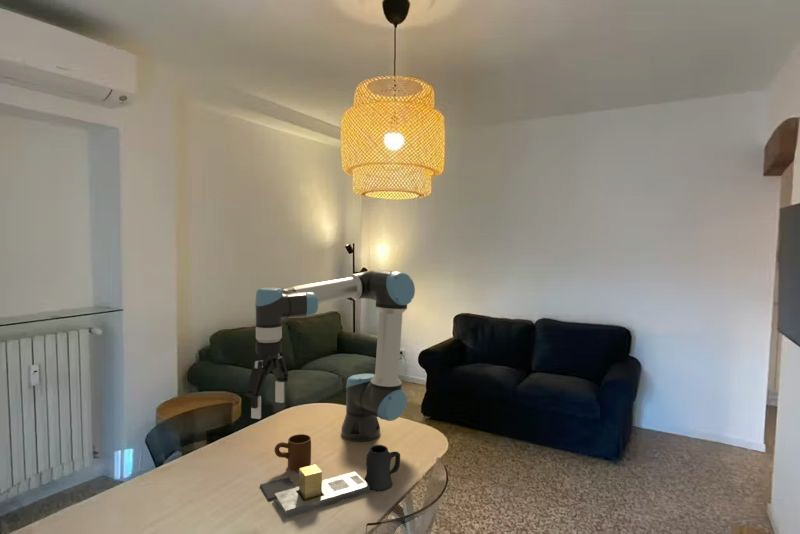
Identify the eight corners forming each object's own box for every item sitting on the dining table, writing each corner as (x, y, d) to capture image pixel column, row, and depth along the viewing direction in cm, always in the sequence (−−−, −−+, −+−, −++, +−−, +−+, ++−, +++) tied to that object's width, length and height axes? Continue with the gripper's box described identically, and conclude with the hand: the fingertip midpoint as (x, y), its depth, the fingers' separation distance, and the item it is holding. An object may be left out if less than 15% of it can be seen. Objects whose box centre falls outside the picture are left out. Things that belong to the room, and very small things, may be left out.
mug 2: (371, 494, 139) (372, 458, 139) (358, 480, 147) (359, 446, 147) (405, 484, 146) (406, 449, 145) (391, 471, 153) (392, 438, 153)
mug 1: (276, 476, 149) (276, 447, 148) (272, 465, 156) (272, 438, 155) (313, 469, 154) (313, 441, 153) (307, 459, 161) (307, 432, 160)
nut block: (315, 493, 139) (315, 464, 139) (321, 501, 135) (321, 471, 135) (299, 498, 137) (299, 468, 136) (305, 506, 132) (305, 476, 132)
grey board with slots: (354, 477, 149) (355, 471, 149) (369, 492, 141) (369, 485, 141) (274, 500, 135) (274, 493, 135) (285, 517, 127) (285, 510, 127)
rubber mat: (288, 478, 147) (288, 476, 147) (298, 492, 140) (298, 490, 140) (260, 486, 143) (260, 484, 143) (268, 500, 135) (268, 498, 135)
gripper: (278, 331, 151) (277, 395, 153) (232, 348, 127) (232, 424, 129) (299, 332, 150) (298, 397, 151) (257, 350, 125) (257, 427, 127)
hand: (268, 409), depth 140 cm, fingers open, 13 cm apart
